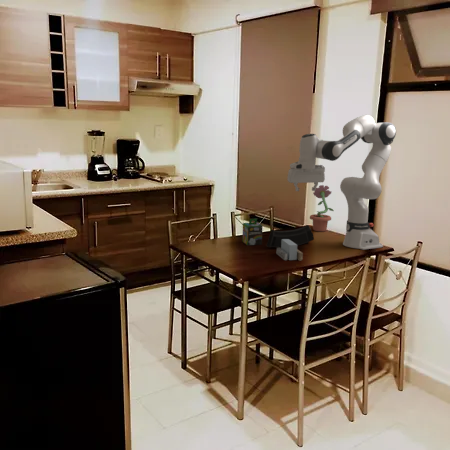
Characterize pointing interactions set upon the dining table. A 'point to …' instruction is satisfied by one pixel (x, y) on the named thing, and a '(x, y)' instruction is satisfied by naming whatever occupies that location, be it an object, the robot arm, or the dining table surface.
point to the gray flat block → (281, 253)
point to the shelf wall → (299, 255)
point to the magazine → (291, 236)
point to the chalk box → (252, 233)
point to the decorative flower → (319, 218)
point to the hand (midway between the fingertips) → (305, 190)
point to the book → (289, 249)
